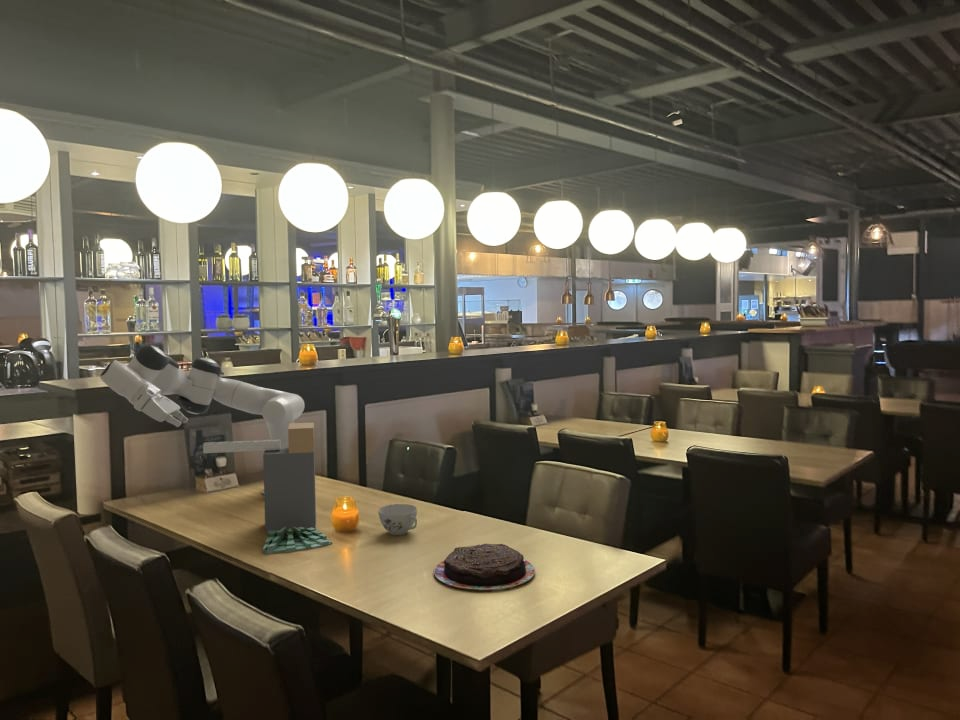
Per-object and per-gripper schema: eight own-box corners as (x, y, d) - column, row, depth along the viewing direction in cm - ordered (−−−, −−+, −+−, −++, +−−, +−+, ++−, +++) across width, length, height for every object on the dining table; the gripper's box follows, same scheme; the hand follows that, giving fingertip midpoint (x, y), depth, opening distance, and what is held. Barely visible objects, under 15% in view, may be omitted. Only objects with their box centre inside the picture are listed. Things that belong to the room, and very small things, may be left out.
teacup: (370, 533, 240) (370, 509, 239) (399, 524, 249) (398, 501, 249) (401, 543, 230) (401, 517, 229) (430, 533, 239) (430, 509, 239)
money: (306, 534, 241) (305, 519, 241) (332, 545, 229) (332, 530, 229) (248, 548, 228) (247, 532, 227) (273, 561, 216) (273, 544, 215)
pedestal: (268, 522, 252) (265, 424, 250) (316, 519, 256) (313, 422, 253) (265, 533, 241) (262, 429, 238) (315, 530, 244) (313, 428, 241)
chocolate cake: (447, 599, 186) (447, 574, 186) (424, 563, 213) (423, 540, 212) (550, 587, 194) (550, 562, 194) (515, 553, 221) (515, 531, 220)
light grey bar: (204, 451, 242) (204, 442, 242) (280, 448, 247) (280, 439, 247) (203, 453, 239) (203, 444, 239) (280, 449, 244) (279, 440, 244)
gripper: (150, 402, 250) (184, 426, 253) (132, 408, 230) (169, 435, 232) (162, 387, 251) (196, 412, 253) (145, 392, 231) (182, 419, 233)
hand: (183, 423), depth 243 cm, fingers open, 8 cm apart
